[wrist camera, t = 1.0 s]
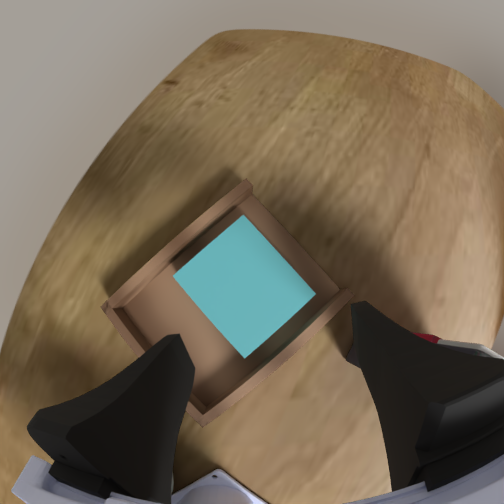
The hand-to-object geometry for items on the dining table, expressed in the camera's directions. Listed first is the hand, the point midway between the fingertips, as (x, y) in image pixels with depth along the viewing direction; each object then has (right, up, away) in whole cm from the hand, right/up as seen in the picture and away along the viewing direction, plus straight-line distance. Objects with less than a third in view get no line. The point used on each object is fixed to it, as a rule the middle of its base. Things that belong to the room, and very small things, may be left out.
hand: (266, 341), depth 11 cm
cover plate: (-1, +1, +12) cm, 12 cm away
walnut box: (-3, -1, +12) cm, 13 cm away
